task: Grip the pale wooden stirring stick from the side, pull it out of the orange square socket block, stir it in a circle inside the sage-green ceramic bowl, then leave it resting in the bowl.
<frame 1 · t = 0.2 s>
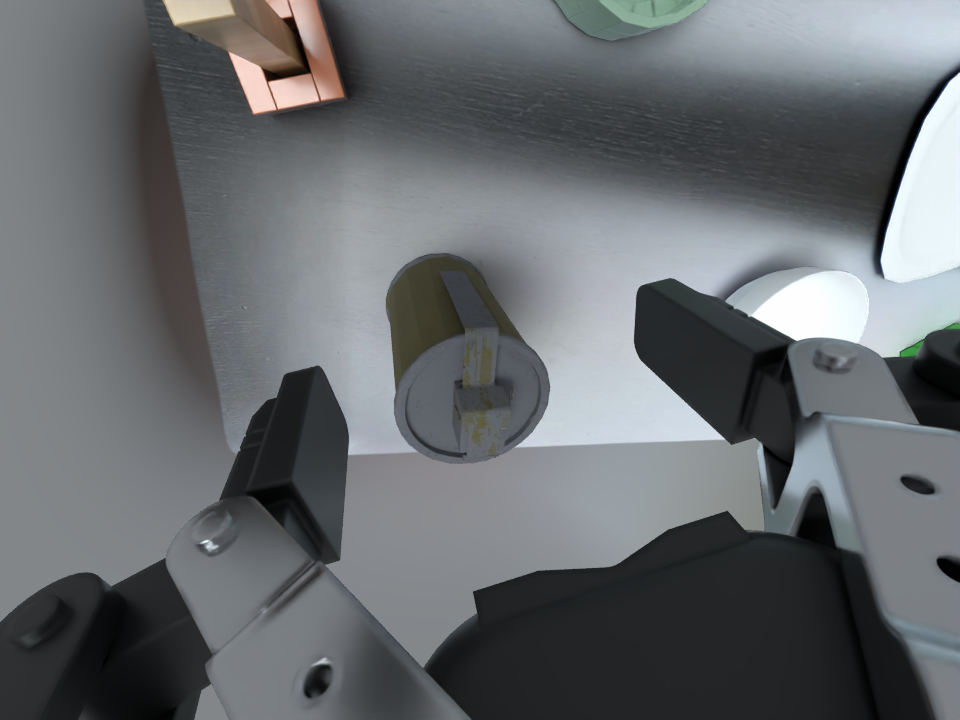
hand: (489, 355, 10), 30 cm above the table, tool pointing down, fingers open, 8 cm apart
bowl: (743, 322, 52), on the table
canister: (438, 301, 41), on the table
stirring stick: (261, 35, 21), in the orange square socket block
orange square socket block: (292, 59, 30), on the table
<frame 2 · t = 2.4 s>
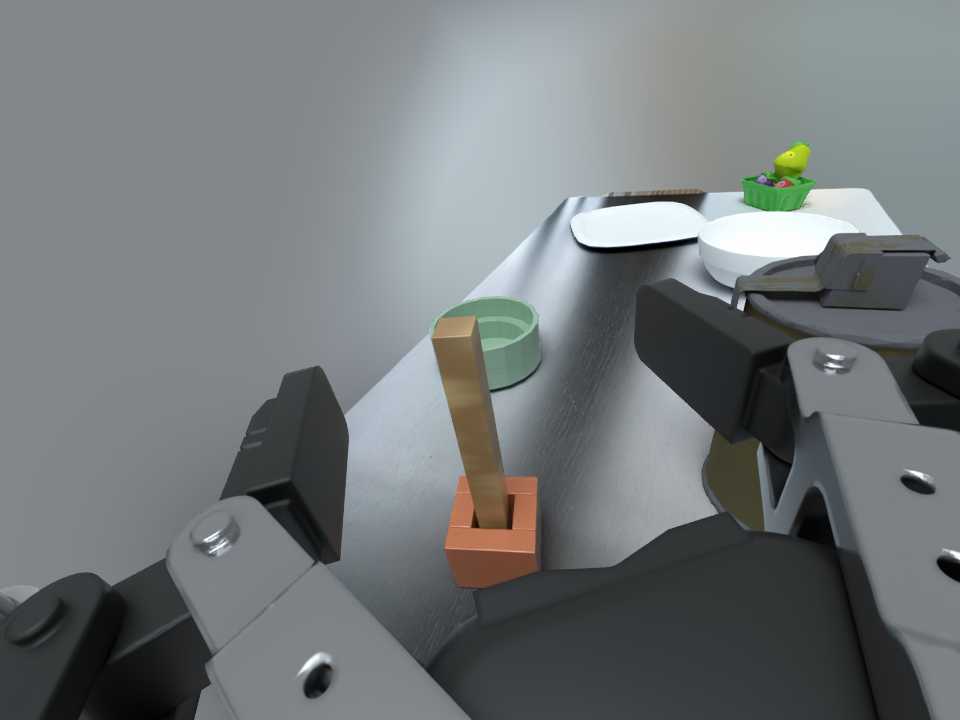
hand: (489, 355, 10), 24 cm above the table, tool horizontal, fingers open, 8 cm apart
fruit basket: (773, 206, 84), on the table
mixing bowl: (489, 361, 53), on the table
bowl: (760, 282, 60), on the table
plate: (634, 230, 85), on the table
canister: (772, 492, 32), on the table
stirring stick: (483, 461, 26), in the orange square socket block
orange square socket block: (501, 549, 32), on the table
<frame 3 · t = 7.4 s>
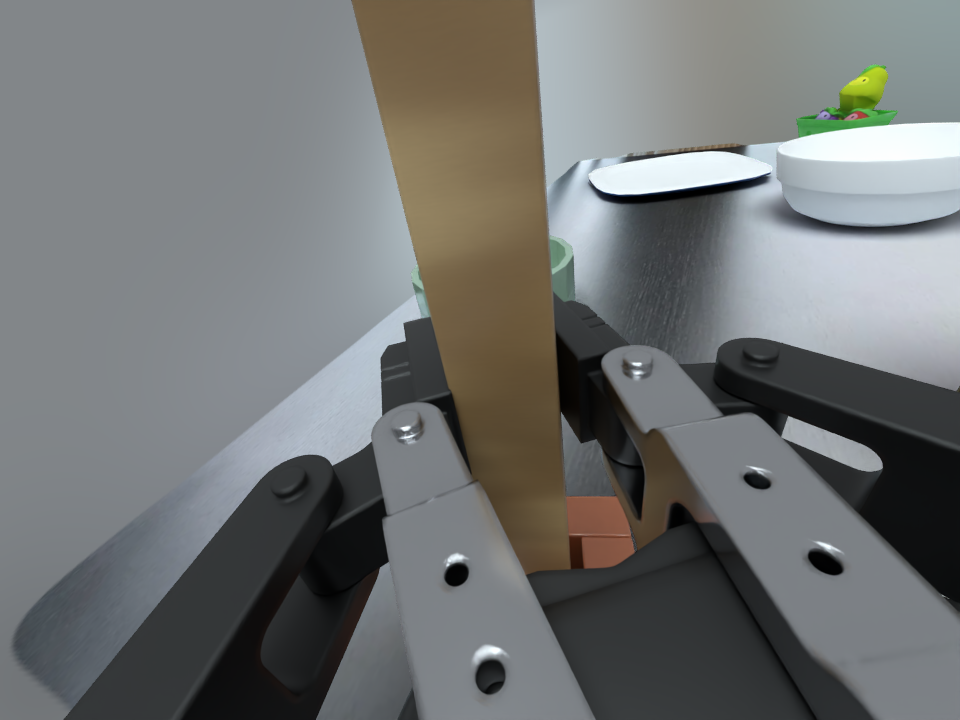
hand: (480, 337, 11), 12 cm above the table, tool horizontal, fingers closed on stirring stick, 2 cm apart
fruit basket: (837, 150, 69), on the table
mixing bowl: (499, 323, 37), on the table
bowl: (863, 217, 44), on the table
plate: (668, 181, 69), on the table
stirring stick: (521, 463, 10), in the orange square socket block, touching gripper
orange square socket block: (548, 648, 15), on the table
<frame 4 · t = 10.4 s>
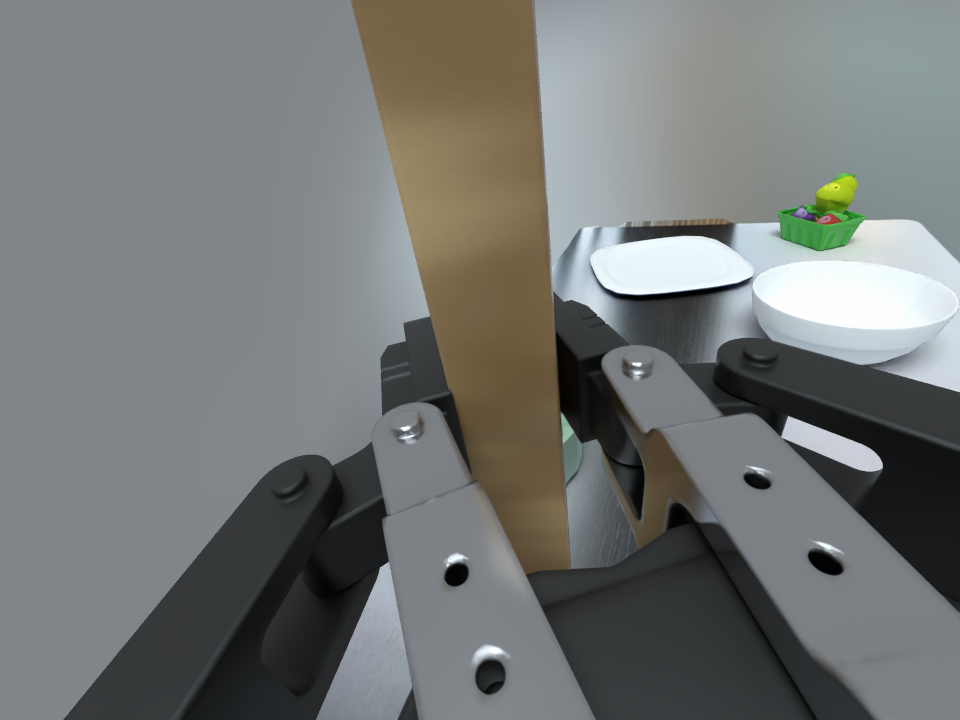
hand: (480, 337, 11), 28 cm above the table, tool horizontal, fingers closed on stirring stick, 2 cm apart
fruit basket: (814, 242, 77), on the table
mixing bowl: (519, 453, 45), on the table
bowl: (826, 343, 52), on the table
plate: (662, 270, 77), on the table
stirring stick: (521, 464, 10), point 26 cm above the table, touching gripper
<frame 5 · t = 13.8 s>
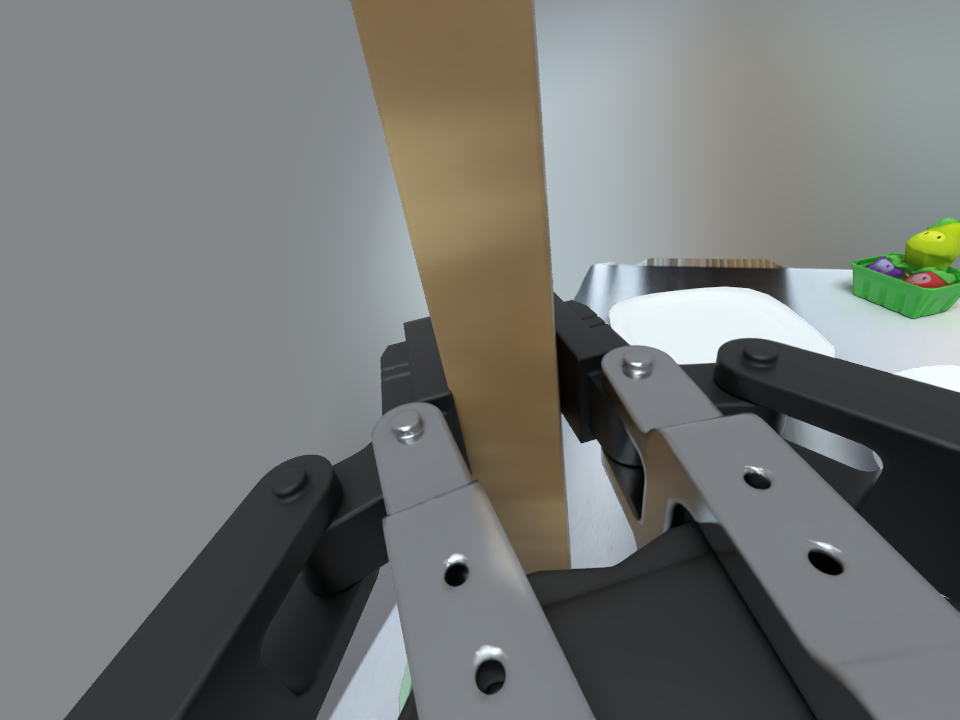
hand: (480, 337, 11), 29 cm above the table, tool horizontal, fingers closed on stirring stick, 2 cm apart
fruit basket: (899, 302, 59), on the table
mixing bowl: (521, 719, 27), on the table
plate: (704, 337, 60), on the table
stirring stick: (521, 464, 10), point 27 cm above the table, touching gripper
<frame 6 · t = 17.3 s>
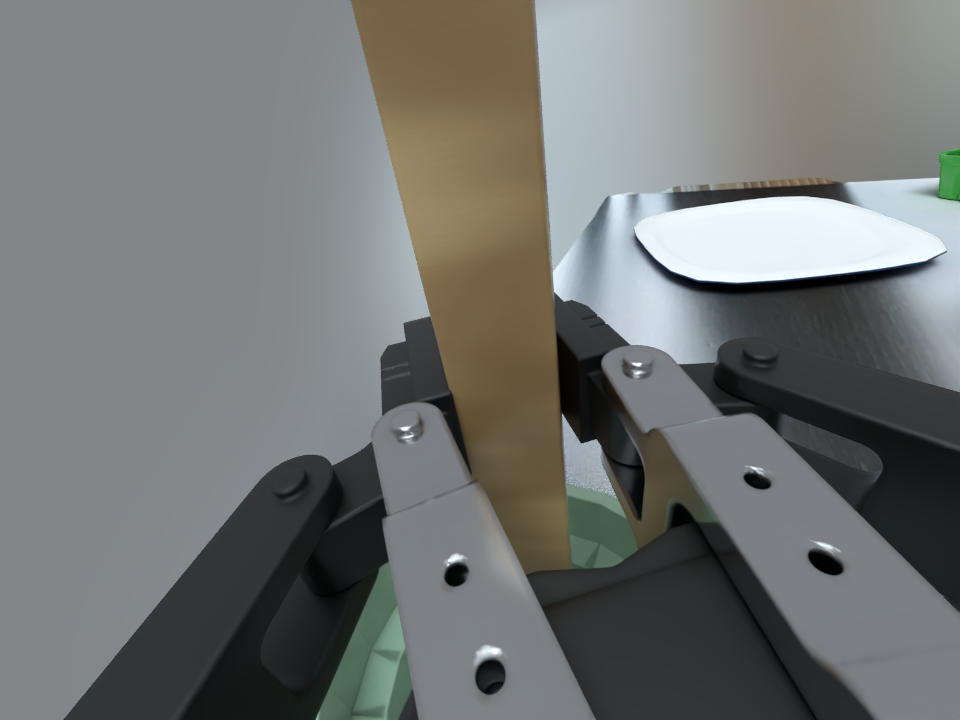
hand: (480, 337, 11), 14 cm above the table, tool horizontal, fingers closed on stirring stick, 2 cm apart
plate: (757, 246, 48), on the table
stirring stick: (522, 464, 10), point 12 cm above the table, touching gripper
when the fingers open (13 cm above the table, at t = 20.2 s): stirring stick stays where it is, resting on mixing bowl.
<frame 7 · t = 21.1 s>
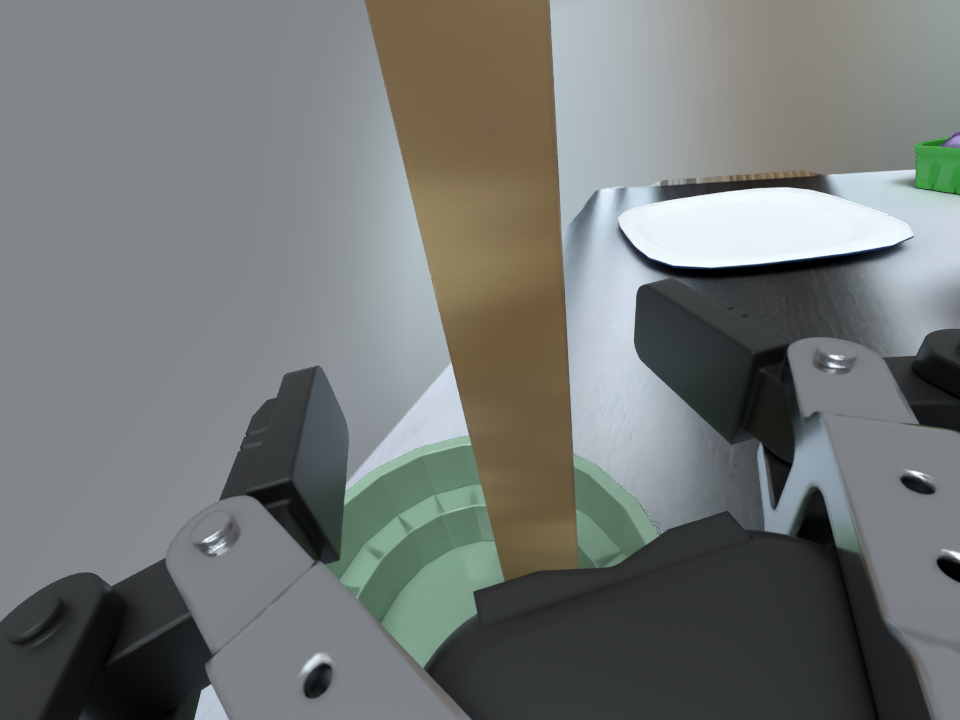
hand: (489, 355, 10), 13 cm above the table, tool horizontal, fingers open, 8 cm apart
mixing bowl: (489, 660, 16), on the table
plate: (736, 234, 49), on the table
stirring stick: (532, 486, 10), in the mixing bowl, point 11 cm above the table
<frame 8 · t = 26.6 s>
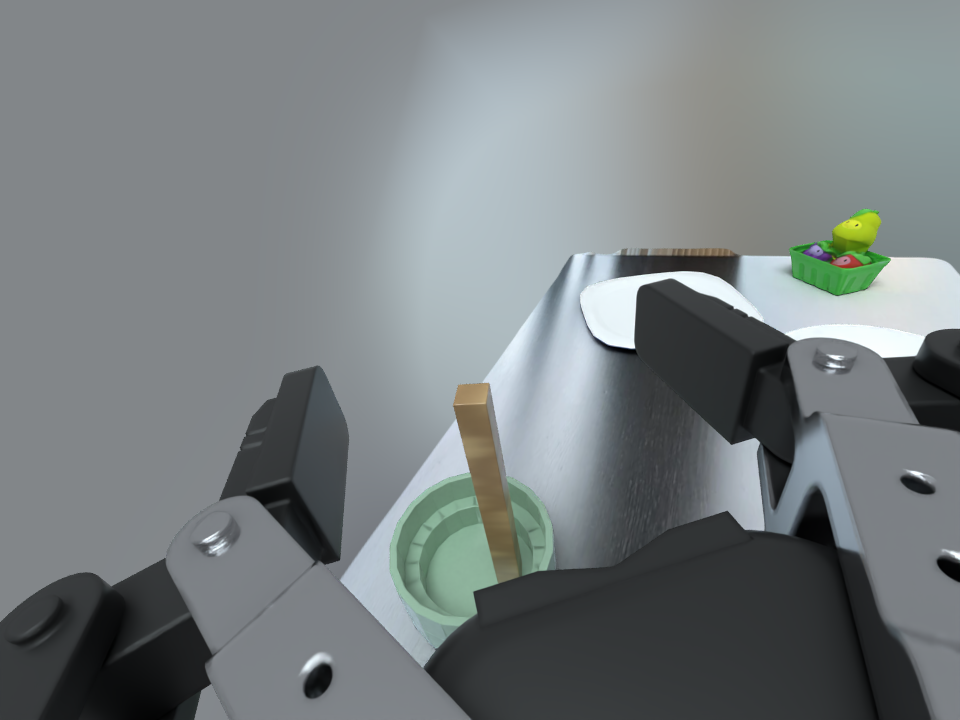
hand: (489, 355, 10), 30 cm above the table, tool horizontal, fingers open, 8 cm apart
fruit basket: (830, 283, 68), on the table
mixing bowl: (481, 576, 36), on the table
bowl: (852, 427, 43), on the table
plate: (660, 313, 69), on the table
stirring stick: (494, 499, 30), in the mixing bowl, point 11 cm above the table
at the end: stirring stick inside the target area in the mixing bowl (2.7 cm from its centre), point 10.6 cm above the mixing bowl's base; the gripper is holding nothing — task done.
